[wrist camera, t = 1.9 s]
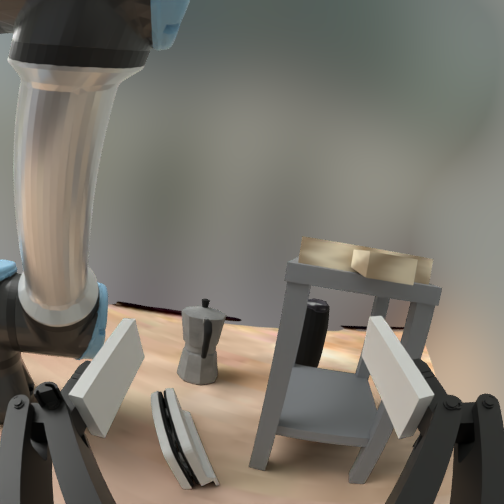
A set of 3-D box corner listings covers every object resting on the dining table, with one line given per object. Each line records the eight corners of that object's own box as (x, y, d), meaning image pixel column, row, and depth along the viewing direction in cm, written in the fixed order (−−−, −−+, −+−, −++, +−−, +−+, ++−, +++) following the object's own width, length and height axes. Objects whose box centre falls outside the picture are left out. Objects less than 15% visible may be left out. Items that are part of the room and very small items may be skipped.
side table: (246, 467, 33) (287, 262, 31) (274, 395, 56) (301, 255, 54) (366, 485, 29) (442, 288, 27) (355, 408, 52) (392, 270, 50)
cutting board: (287, 270, 22) (293, 231, 22) (306, 256, 52) (309, 239, 52) (471, 301, 18) (478, 264, 18) (390, 270, 49) (393, 254, 48)
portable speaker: (273, 375, 66) (288, 298, 65) (293, 365, 73) (307, 295, 72) (303, 388, 60) (321, 307, 59) (321, 376, 68) (338, 303, 67)
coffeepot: (175, 360, 65) (182, 289, 64) (213, 363, 67) (223, 293, 66) (177, 394, 50) (184, 308, 49) (224, 396, 53) (237, 313, 52)
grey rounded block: (220, 486, 28) (199, 442, 26) (187, 496, 26) (159, 453, 25) (192, 418, 43) (175, 373, 42) (166, 424, 42) (147, 380, 40)
